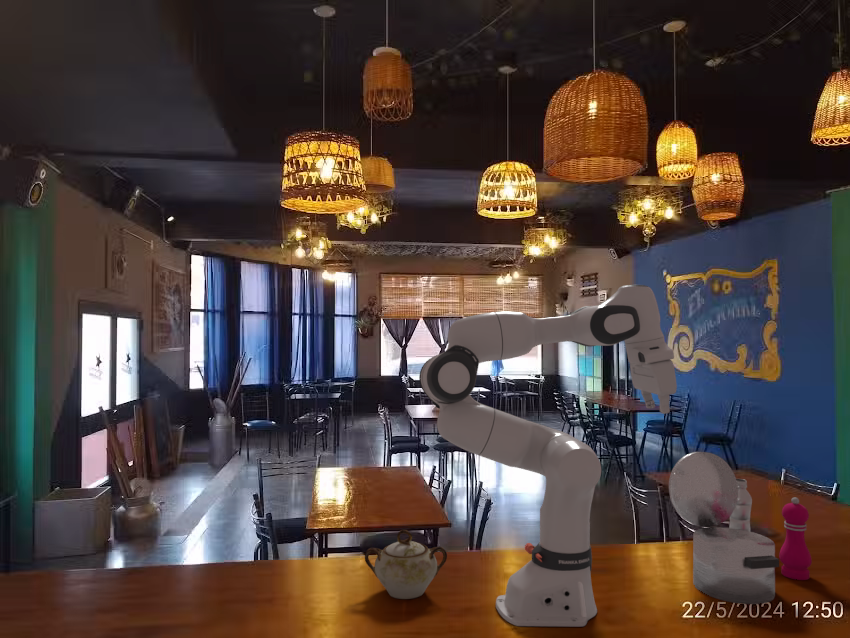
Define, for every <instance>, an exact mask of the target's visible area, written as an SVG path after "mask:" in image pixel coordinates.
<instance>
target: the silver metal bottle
mask: <svg viewBox="0 0 850 638" xmlns="http://www.w3.org/2000/svg"><path fill="white" fill-rule="evenodd" d="M736 480H737V485H738V499H737V504H736V507H735V509H734V511H733V513H732V514H731V515H730V517H729V527H728V528H733V529H740V530H745V531H750V532H752V531H751V511H752V505H753V504H752V503H753V499H752V498H753V497H752V496H751V494H750V493H749V491H748V490H747V488H748V482H747V480H746V479H742V478H736Z"/></svg>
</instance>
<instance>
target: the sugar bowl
mask: <svg viewBox="0 0 850 638" xmlns="http://www.w3.org/2000/svg"><path fill="white" fill-rule="evenodd" d="M402 534H405V535H407V537H408V538H406V539H402V538H401V535H402ZM396 538H397V541H396V542H393V543H391V544H389V545H386V546H385V547H384V548H383V549H380V548H378V547H370V548H368V549H367V550H366V552H365V553H364V560H365V561H364V562H365V563H366V565H367V566H368V568H370V569H371V571H372V573H373V574H374V576H375V577H376V578H377V579H378V580H379V582H380V584H381V585H382V586H383V587H384V589H385V590H386V591H387V593H388V594H389V596H390V597H391V598H394V599H400V600H410V599H417V598H419V597H421V596H422V595H424V593H425V591H426V590H427V588H428V587H429V585H430V584H431V582H432V581H433V579H434V578H436V576H437V575H438V573H439V572H440V570H441V569H442V567H443V566H444V564H445V563H446V561H447V558H448V553H447V551H446V549H445V548H444V547H442V546H435V547H432V548H428V546H427V545H425V544H423V543H421V542H418V541H417V542H416V541H412V539H413V534H412V533H411V532H410V531H409V530H407V529H400V530H399V532H398V533H397V534H396ZM436 552H441V553H442V556H443V557H442V560H441V562H440V563H439V564H438V561H437V559H436V556H435V553H436ZM371 554H375V555H376V556H377V557H376V558H375V561H374V565H373V563H371V561H370V559H369V555H371Z"/></svg>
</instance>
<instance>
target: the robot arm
mask: <svg viewBox="0 0 850 638" xmlns="http://www.w3.org/2000/svg"><path fill="white" fill-rule="evenodd" d="M623 341H624V344H625V350H626V354H627V359H628V360H627V361H628V363H629V367H630V375H631V380H632V381H631V382H632V386H633V387H634V389H635V390H639V391H640V393H641V396H642V398H643V400H644V403H645V407H646V409H655V408H656V404H655V400H654V398H653V395H652V394H654V395H657V397H658V398H657V399H658V400H659V405H658V410H659V412H660V413H661V414H664V415H665V414H669V413H670V411H671V410H670V399H671V398H670V395H674V394H676V393H677V387H678V385H677V376H676V370H675V365H674V362H673V361H672V360H674V359H675V355H674V354H675V353H674V351H673V349H672V348H671V347H670V346H669V345H668V344H667V342H666V340H665V335H664V333H663V331H662V328H661V315H660V310H659V306H658V302H657V299H656V295H655V293H654V291H653V290H652V288H651V287H649V286H648V285H645V284H627V285H622V286H619V287H618V288H617V290H616V291H615V293H613V294H612V295H611V296H610V297H608V299H606V300H605V301H603V302H601V303H600V304H599V305H589V306H588V305H586V306H582V307H580V308H577V309H576V310H575V311H573V312H571V313H569V314H567V315H563V316H562V315H561V316H555V317H554V316H553V317H552V316H551V317H545V318H544V317H542V318H536V317H531V316H529V315H527V313H524V312H519V311H506V310H505V311H504V310H503V311H491V312H484V313H478V314H475V315H474V314H473V315H471V316H466V317H463V318H460V319H456V320H455V321H454V322H453V323H452V324H451V325H450V327H449V329H448V333H447V343H448V345H447V348H446V350H445V351H444V352H442V353H439V354H436V355H434V356H432V357H431V358H428V359H427V360H426V362H424V363H423V365H422V367H421V369H420V372H419V384H420V387H421V390H422V392H423V393H424V394H425V395H426V397H427V398H429V400H430V401H431V403H433V405H434V406H435V407H436V408H438V409H439V413H438V416H437V422H436V423H437V424H436V425H437V427H436V428H437V432H438V433H439V436H440V437H441V438H443V439H444V440H445V441H448V442H449V443H451V444H452V445H455V446H456V447H458V448H460V449H463V450H464V451H466V452H469V453H471V454H473V455H476V456H479V457H482V458H485V459H487V460H491V461H493V462H495V463H499V464H501V465H504V466H507V467H511V468H517V469H521V470H526V471H530V472H532V473H536V474H539V475H541V476H543V477H545V482H546V483H545V492H544V496H543V501H542V504H541V507H540V508H539V542H538V543H537V545H536V546H534V545H533V544H532V543H531V542H526V544H525V545H524V550H525V551H526V552H527V553H528V554H529V555H531V560H529V561H528V562H527V563H526V564H525V565H524V566H522V567H521V568H519V569H518V570H517V571H515V572H514V573H513V574H511V575H510V577H509V578H508V579H507V583H506V589H505V594H503V595H502V594H501V595H498V596H497V597H496V599H495V608H496V611H497V612H498V614H499V615H500V616H501V618H502V619H504V620H505V621H506V622H508V623H510V624H511V625H514V626H516V627H571V628H572V627H576V628H577V627H585V626H587V623H588V621H589V620H590V619H592V618H594V617H595V616H596V615H597V613H598V609H597V605H596V602H595V598H594V597H595V596H594V592H593V586H592V577H591V571H592V568H593V567H592V564H593V562H592V561H593V555H592V551H593V550H592V546H591V543H590V533H591V530H590V526H591V525H590V524H591V521H590V520H591V519H590V517H591V509H592V502H593V498H594V493H595V488H596V486H597V484H598V482H599V481H600V479H601V475H602V464H601V461H600V459H599V457H598V455H597V454H596V453H595V451H594V449H593V448H591V446H590V445H588V444H587V443H585V442H583V441H582V440H579V439H577V438H576V437H574V436H572V435H570V434H569V433H567V432H564V431H561V430H558V429H556V428H552V427H549V426H546V425H543V424H540V423H537V422H533V421H531V420H527V419H525V418H522V417H519V416H516V415H513V414H511V413H508V412H505V411H502V410H499V409H497V408H494V407H492V406H488V405H486V404H483V403H481V402H478V401H477V400H475V399H474V398H473V397H472V395H471V394H472V392H473V390H474V388H475V386H476V382H477V377H478V376H477V375H478V371H479V364H481V363H484V362H495V361H504V360H510V359H513V358H518V357H522V356H525V355H527V354H529V353H530V352H531V351H532V350H533V348H536V347H538V346H541V345H545V344H554V343H555V344H558V343H565V342H569V343H574V344H578V345H580V346H583V347H589V348H590V347H591V348H592V347H598V346H602V347H603V346H605V347H606V346H607V347H608V346H609V347H610V346H613V345H618V344H619V343H621V342H623Z"/></svg>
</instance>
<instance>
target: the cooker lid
mask: <svg viewBox="0 0 850 638" xmlns="http://www.w3.org/2000/svg"><path fill="white" fill-rule="evenodd" d="M736 479H737V477H736V475H735V473H734V471H733V469H732V468H731V466H730V465H729V464H728V462H727V461H725V459H723V458H722V457H720V456H719V455H717V454H714V453H712V452H706V451H693V452H690V453H688V454H685V455H684V456H682V457H681V458H680V459H678V460H677V462H676V463H675V464H674V466H673V468H672V469H671V472H670V475H669V479H668V494H669V497H670V502H671V503H672V506H673V507H674V509H675V511H676V513H678V514H679V516H680V517H681V518H682V519H683V520H685V521H686V522H688V523H689V524H692V525H695V526H698V527H702V528H713V527H717V526H719V525H721V524H723V523H724V522H725V521H727V520H728V519H730V515H731V514H732V513H733V511H734V509H735V507H736V504H737V499H738V485H737V480H736Z"/></svg>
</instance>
